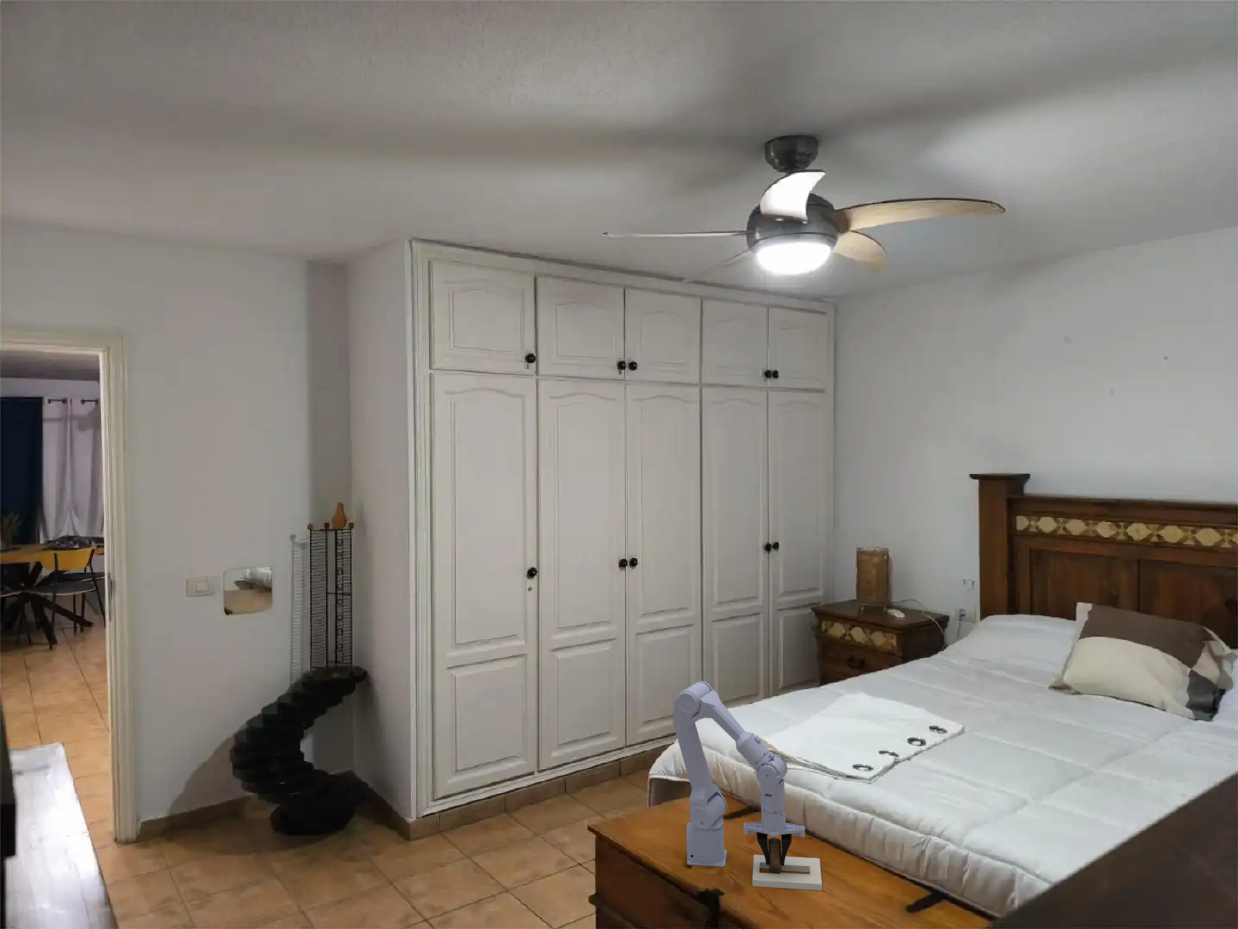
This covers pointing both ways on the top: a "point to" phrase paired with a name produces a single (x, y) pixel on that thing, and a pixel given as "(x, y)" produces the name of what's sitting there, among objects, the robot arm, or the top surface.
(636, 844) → the top surface
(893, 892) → the top surface
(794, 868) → the keyhole plate
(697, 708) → the robot arm
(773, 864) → the peg
